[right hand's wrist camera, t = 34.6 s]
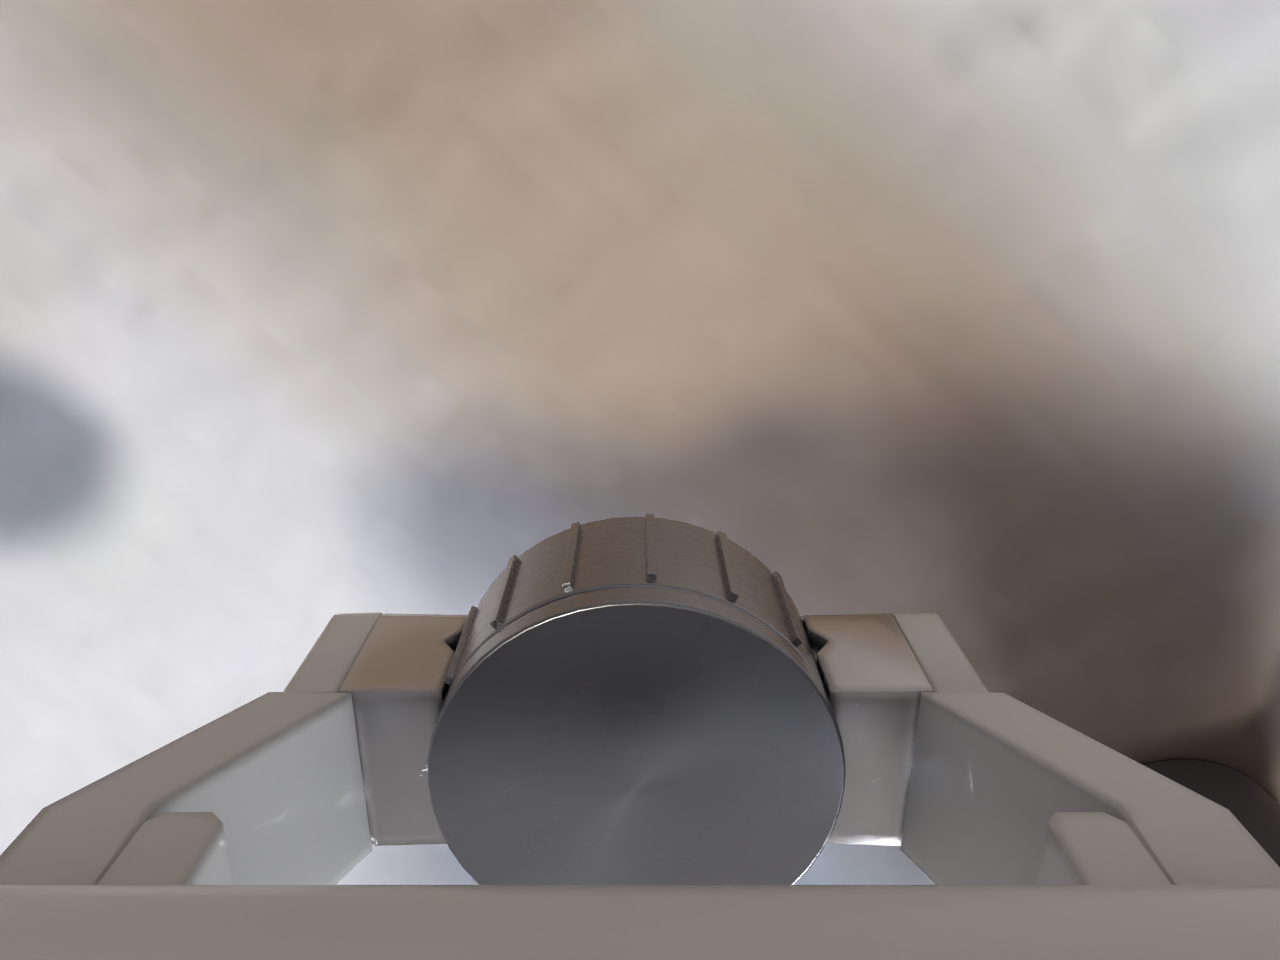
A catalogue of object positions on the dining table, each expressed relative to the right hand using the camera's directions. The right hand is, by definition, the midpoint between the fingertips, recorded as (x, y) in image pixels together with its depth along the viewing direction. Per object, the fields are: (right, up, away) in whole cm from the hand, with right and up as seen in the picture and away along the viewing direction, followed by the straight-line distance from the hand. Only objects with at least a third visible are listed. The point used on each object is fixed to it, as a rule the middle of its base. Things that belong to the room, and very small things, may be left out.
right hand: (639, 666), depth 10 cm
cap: (0, -1, -2) cm, 2 cm away
